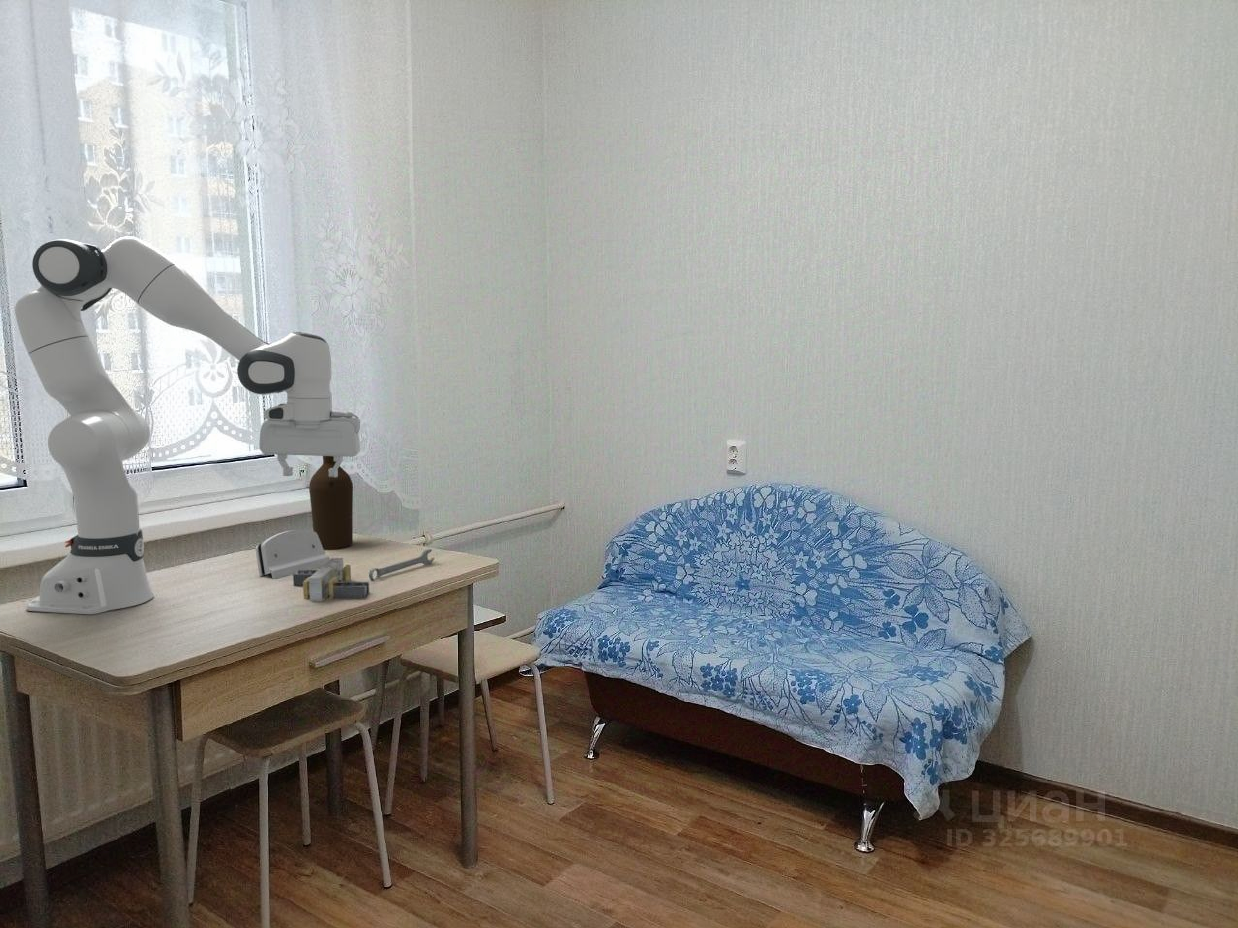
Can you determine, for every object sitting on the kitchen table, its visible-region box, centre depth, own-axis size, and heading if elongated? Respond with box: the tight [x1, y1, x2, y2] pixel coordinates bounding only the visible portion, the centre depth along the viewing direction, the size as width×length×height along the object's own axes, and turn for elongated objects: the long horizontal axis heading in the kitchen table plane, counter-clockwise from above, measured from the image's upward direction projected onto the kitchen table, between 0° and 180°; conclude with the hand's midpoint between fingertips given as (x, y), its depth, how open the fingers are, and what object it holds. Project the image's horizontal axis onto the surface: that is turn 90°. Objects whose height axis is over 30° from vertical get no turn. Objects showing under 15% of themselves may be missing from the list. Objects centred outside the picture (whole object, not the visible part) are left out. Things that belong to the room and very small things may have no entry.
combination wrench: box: [368, 549, 435, 581], centre depth 216 cm, size 4×1×20 cm
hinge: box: [255, 529, 331, 580], centre depth 218 cm, size 17×5×10 cm, turn 147°
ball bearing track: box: [292, 564, 370, 599], centre depth 201 cm, size 18×14×4 cm
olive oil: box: [308, 456, 354, 550], centre depth 240 cm, size 11×11×25 cm
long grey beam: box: [309, 557, 344, 602], centre depth 201 cm, size 3×17×5 cm, turn 2°
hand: (310, 476), depth 199 cm, fingers open, 8 cm apart
